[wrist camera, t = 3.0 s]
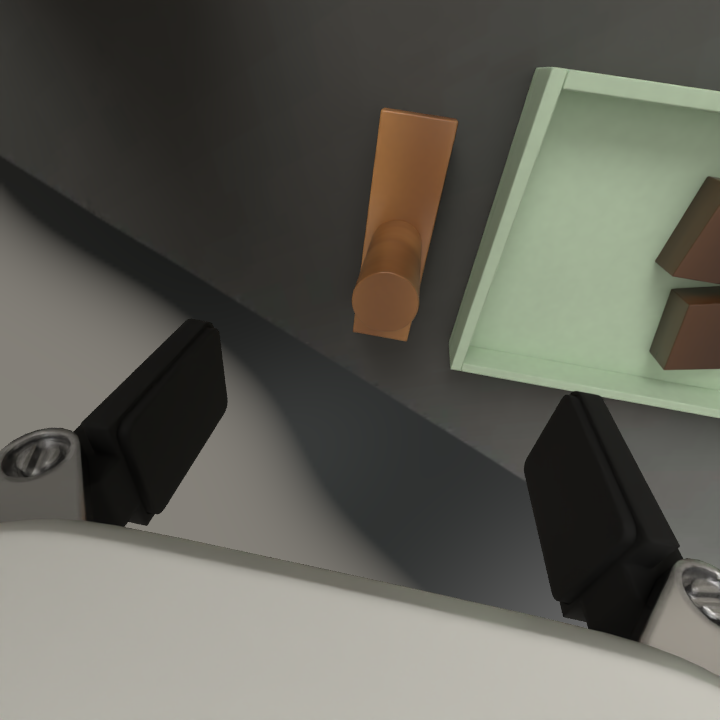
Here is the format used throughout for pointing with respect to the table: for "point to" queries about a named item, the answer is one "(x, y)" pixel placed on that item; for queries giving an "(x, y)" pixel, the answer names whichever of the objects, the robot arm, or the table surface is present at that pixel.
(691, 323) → the chip
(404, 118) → the brush
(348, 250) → the table surface
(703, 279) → the dark brown square block
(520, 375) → the tray
